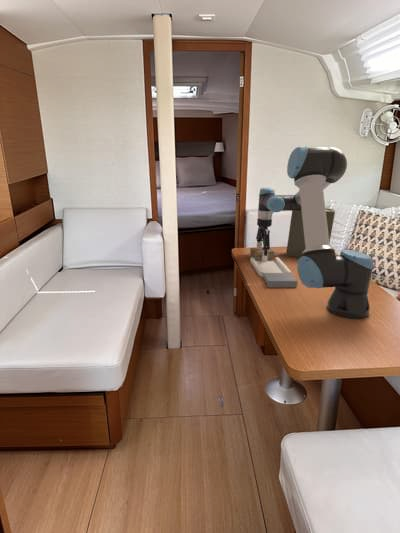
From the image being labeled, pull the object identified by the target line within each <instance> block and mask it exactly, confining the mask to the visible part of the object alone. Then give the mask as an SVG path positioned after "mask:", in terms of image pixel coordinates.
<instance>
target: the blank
mask: <svg viewBox="0 0 400 533" xmlns="http://www.w3.org/2000/svg"><path fill="white" fill-rule="evenodd" d="M262 248H263V246H262V247H259V248H257V247H250V250H249V257H254V259H255V260H256V261H262V253H263V250H262ZM274 254H275V251H274V250H273V249H271V248H270V249H269V250H268V258H267V261H274Z"/></svg>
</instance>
